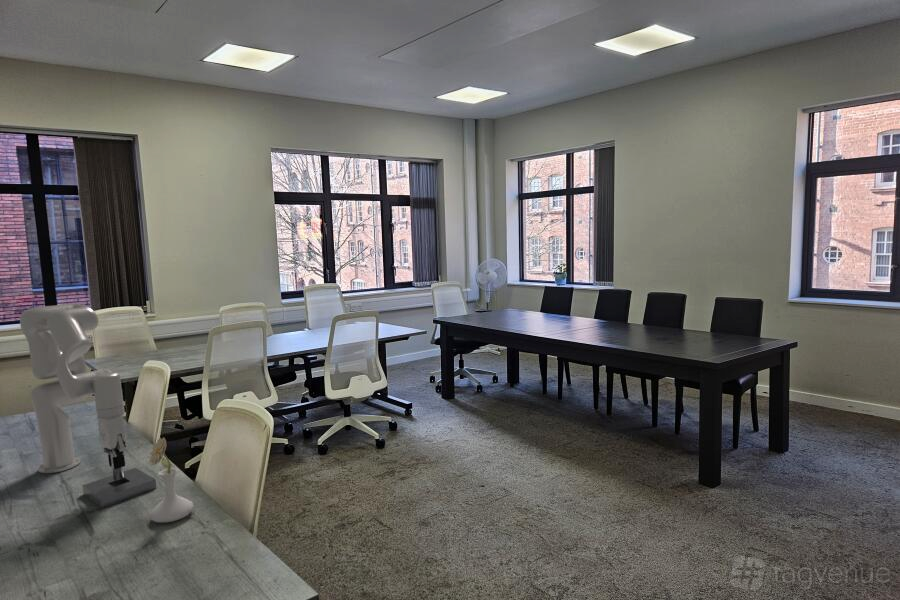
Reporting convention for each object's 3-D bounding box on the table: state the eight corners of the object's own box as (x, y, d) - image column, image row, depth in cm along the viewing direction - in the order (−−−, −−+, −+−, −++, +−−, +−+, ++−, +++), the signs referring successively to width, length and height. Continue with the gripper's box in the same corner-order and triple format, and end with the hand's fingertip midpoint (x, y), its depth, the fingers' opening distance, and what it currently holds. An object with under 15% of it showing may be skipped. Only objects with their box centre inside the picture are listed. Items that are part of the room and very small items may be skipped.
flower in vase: (153, 512, 163) (143, 431, 160) (195, 503, 167) (186, 424, 164) (148, 533, 151) (138, 446, 148) (193, 523, 155) (184, 438, 152)
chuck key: (106, 480, 176) (102, 447, 175) (126, 473, 181) (123, 441, 180) (110, 482, 174) (106, 449, 173) (130, 475, 179) (126, 443, 178)
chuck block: (83, 494, 177) (82, 485, 177) (136, 476, 189) (135, 467, 189) (102, 507, 167) (100, 498, 167) (156, 487, 179) (155, 479, 179)
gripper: (88, 410, 177) (95, 464, 179) (107, 419, 167) (114, 476, 169) (113, 404, 183) (120, 456, 185) (133, 412, 173) (140, 467, 175)
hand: (117, 465), depth 177 cm, fingers closed on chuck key, 3 cm apart
